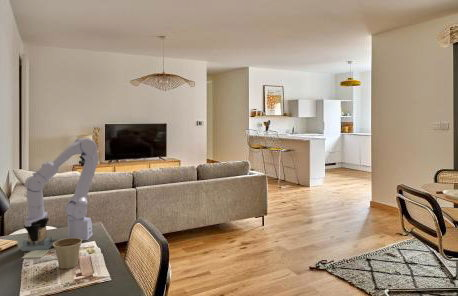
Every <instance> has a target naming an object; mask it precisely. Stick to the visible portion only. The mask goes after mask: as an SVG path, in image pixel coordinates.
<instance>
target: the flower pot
mask: <svg viewBox="0 0 458 296" xmlns="http://www.w3.org/2000/svg"><path fill="white" fill-rule="evenodd" d="M82 242H83V240H82V239H80V238H68V237H67V238H61V239H58V241H56V242H54V243H53V246H52V247H53V249H54V250H55V252H56V258H57V263H58V268H59V269H62V270H65V269H67V270H69V269H72V268H75V267H77V266H78V265H79V259H80V250H81V249H80V248H81V245H82Z"/></svg>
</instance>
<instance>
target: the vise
mask: <svg viewBox="0 0 458 296" xmlns="http://www.w3.org/2000/svg"><path fill="white" fill-rule="evenodd" d="M39 231H40V230H39ZM58 240H59V239H53V236H47V237H46V238H45V239H43V240H42V241H28V237H27V238H26V239H24V240H22V246H21V247H20V251H21V252H30V251H35V250H50V249H51V248H52V247H54V246H53V243H54V242H56V241H58Z"/></svg>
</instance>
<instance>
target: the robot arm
mask: <svg viewBox="0 0 458 296" xmlns="http://www.w3.org/2000/svg"><path fill="white" fill-rule="evenodd" d="M74 155H81V156H82V158H83V159H84V164H83V167H82V170H81V173H80V176H79V179H78V182H77V185H76V188H75V191H74V193H73V195H72V196H71V197H70V199H69V201H68V202H67V204H65V207H64V212H65V213H66V214H67V218H66V220H67V236H68V237H67V238H80V239H82V241H88V240H89V239H90V238H91V237H92V236H93V235H94V234H93V222H92V218H91V217H86V215H87V213H88V208H87V207H88V198H87V197H88V194H89V191H90V188H91V184H92V182H93V179H94V176H95V173H96V169H97V166H98V164H99V161H100V159H99V154H98V144H97V143H96V142H95V140H94V139H93V138H89V137H88V138H85V137H79V138H76V139H75V140H74V141H73V142H71V143H70V144H69V145H68V146H67V147H65V149H64V150H63V151H62V152H61V153H60V154H58V156H57V157H56V158H54V159H53V161H52V162H51V161H49V162H46V163H44V162H43V163H42V164H41V167H40V168H39V169H38V170H37V171H36V172H34V171H33V173H32V175H31V176H28V177H27V178H26V179H25V181H24V183H23V186H24V188H25V189H26V203H27V204H26V205H27V216H25V221H24V225H23V228H24V229H25V230H26V231H27V235H28V234H29V236H30V239H31V241H37V240H38V231H39V228H43V227H46V228H47V224H48V222H49V217H48V211H45V205H44V203H45V202H44V194H43V189H44V187H45V184H46V183H48V182H49V181H50V180H51V179H52V178H54V176H56V174H57V173H59V168H60V166H62V165H63V164H65V163H66V162H67V161H69V159H70V158H72V157H73V156H74Z"/></svg>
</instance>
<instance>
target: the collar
mask: <svg viewBox="0 0 458 296" xmlns="http://www.w3.org/2000/svg"><path fill="white" fill-rule="evenodd" d="M39 230H40V231H38V240H37V241H42V240H43V239H45V238H48V235H47V226H46V227H43V228H39ZM27 238H28V241H31V239H30V236H29V234H28V233H27Z"/></svg>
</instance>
